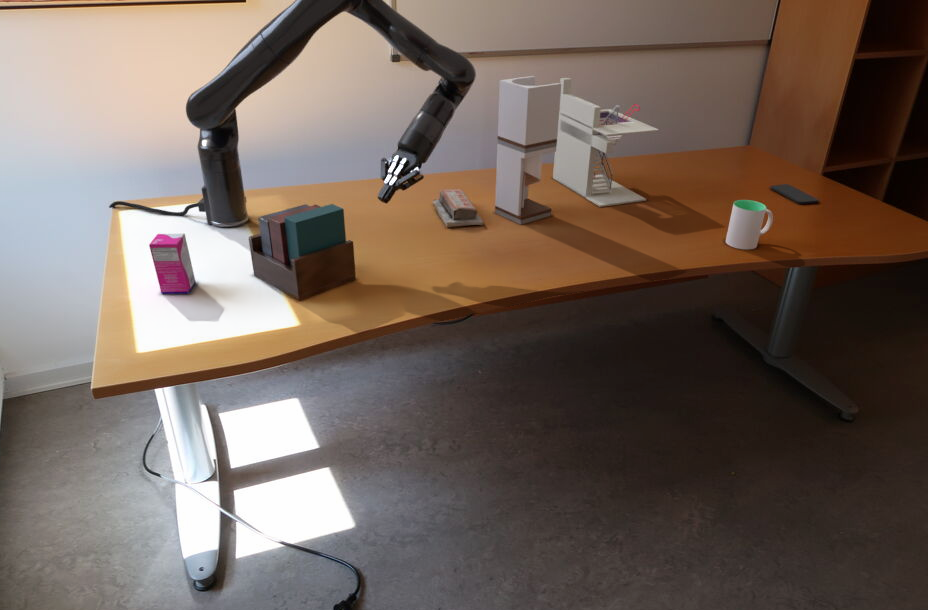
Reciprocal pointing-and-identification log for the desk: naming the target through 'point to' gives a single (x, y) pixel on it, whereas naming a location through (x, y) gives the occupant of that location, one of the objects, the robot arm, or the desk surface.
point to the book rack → (298, 259)
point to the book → (314, 230)
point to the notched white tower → (524, 144)
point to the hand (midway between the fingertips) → (382, 200)
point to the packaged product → (456, 209)
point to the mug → (747, 224)
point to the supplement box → (172, 263)
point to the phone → (794, 194)
